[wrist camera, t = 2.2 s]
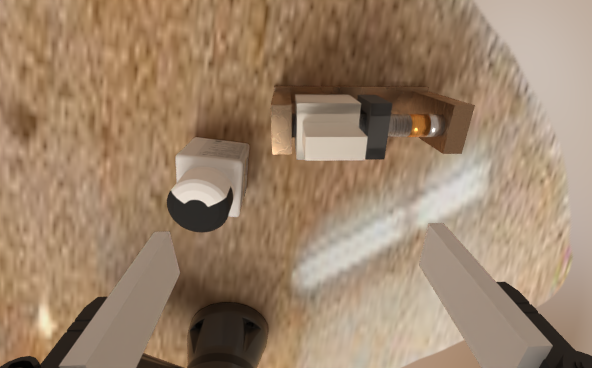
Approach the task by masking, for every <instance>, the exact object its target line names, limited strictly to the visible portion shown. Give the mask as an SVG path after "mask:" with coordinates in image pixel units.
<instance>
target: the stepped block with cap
mask: <svg viewBox="0 0 592 368" xmlns="http://www.w3.org/2000/svg"><path fill="white" fill-rule="evenodd" d="M360 109H361V103H360V102H359V101H357V100H356V99H354V98H353V97H352V96H350V95H301V94H295V114H297V135H296V137H295V149H296V158H297V160H305V161H327V160H365V155H366V146H367V138H368V137H367V136H366V135H365V134H364V133H363V132H362V130H361V129H360V128H359V119H360Z"/></svg>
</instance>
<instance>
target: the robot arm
mask: <svg viewBox="0 0 592 368" xmlns="http://www.w3.org/2000/svg"><path fill="white" fill-rule="evenodd" d="M419 266H420V268H421V269H422V271H423V272H424V274H425V276H426V277H427V279H428V281H429V282H430V284H431V286H432V287H433V289H434V290H435V292H436V294H437V295H438V297H439V299H440V300H441V302H442V304H443V305H444V307H445V309H446V310H447V312H448V313H449V315H450V317H451V318H452V320H453V322H454V323H455V325H456V327H457V328H458V330H459V331H460V333H461V335H462V336H463V338H464V340H465V341H466V343H467V344H468V346H469V348H470V349H471V351H472V353H473V354H474V356H475V358H476V359H477V361H478V363H479V364H480V366H481V368H592V356H590V355H588V354H585V353H582V352H579V351H576V350H575V349H573V348H572V347H571V345H570V344H569V343H568V342H567V341H566V340H565V339H564V338H563V337H562V336H561V335H560V334H559V333H558V332H557V331H556V330H555V329H554V328H553V327H552V326H551V325H550V323H549V322H548V321H547V320H546V319H545V318H544V317H543V316H542V315H541V314H539V313H538V311H537V310H536V309H535V308H534V307H533V306H532V305H530V304H529V301H528V300H527V299H526V298H525V297H524V296H523V295H522V294H521V293H520V292H519V291H518V290H516V289H515V288H513V287H512V286H510V285H509V284H507V283H506V282H496V281H495V280H494V279H493V278H492V277H491V276H490V275H489V274H488V273H487V271H486V270H485V269H484V268H483V267H482V266H481V265H480V264H479V262H478V261H477V260H476V259H475V258H474V257H473V256H472V255H471V253H470V252H469V251H468V250H467V249H466V248H465V247H464V246H463V245H462V243H461V242H460V241H459V240H458V239H457V238H456V237H455V236H454V234H453V233H452V232H451V231H450V230H449V229H448V228H447V227H446V226H445V224H444V223H428V228H427V232H426V236H425V241H424V245H423V250H422V254H421V259H420V263H419ZM179 275H180V270H179V266H178V262H177V258H176V254H175V251H174V247H173V243H172V239H171V235H170V231H165V232H154V233H153V234H152V236H151V237H150V238H149V240H148V241H147V243H146V244H145V245H144V247H143V248H142V250H141V251H140V253H139V254H138V255H137V257H136V258H135V260H134V261H133V262H132V264H131V265H130V267H129V268H128V269H127V271H126V272H125V274H124V275H123V276H122V278H121V279H120V281H119V282H118V283H117V285H116V286H115V288H114V289H113V290H112V292H111V293H110V295H109V296H108V297H97V298H96V299H95V300H93V301H92V302H91V303H90V304H88V305H87V306H86V307H85V308H84V309H83V310H82V312H81V313H80V314H79V315H78V317H77V318H76V319H75V322H73V323H72V324H71V326H70V327H69V328H68V330H67V333H65V334H64V335H63V336H62V337H61V339H60V340H59V341H58V343H57V344H56V345H55V347H54V348H53V349H52V350H51V352H50V353H49V354H48V356H47V357H46V358H45V359H44V361H43V362H42V363H41V365H40V364H39V362H38V360H37V359H36V358H34V357H31V356H26V357H20V358H17V359H14V360H12V361H9V362H7V363H6V364H4V365H3V366H1V367H0V368H183V367H181V366H178V365H175V364H172V363H169V362H167V361H164V360H161V359H158V358H155V357H152V356H150V355H147V354H145V353H143V352H144V350H145V348H146V346H147V343H148V341H149V339H150V337H151V335H152V333H153V331H154V328H155V326H156V324H157V322H158V320H159V318H160V316H161V313H162V311H163V309H164V307H165V305H166V303H167V301H168V298H169V296H170V294H171V292H172V290H173V288H174V286H175V283H176V281H177V279H178V277H179ZM267 335H268V327H267V323H266V321H265V319H264V318H263V317H262V316H261V315H260V314H259V313H258V312H257V311H255V310H254V309H252V308H250V307H248V306H245V305H242V304H237V303H217V304H213V305H210V306H207V307H205V308H203V309H201V310H200V311H199V312H198V313H197V314H196V315H195V316H194V317H193V319H192V321H191V324H190V327H189V330H188V335H187V349H188V366H187V368H257V367H258V364H259V362H260V359H261V357H262V354H263V352H264V349H265V347H266V344H267Z"/></svg>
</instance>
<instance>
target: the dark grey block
mask: <svg viewBox="0 0 592 368" xmlns="http://www.w3.org/2000/svg"><path fill="white" fill-rule="evenodd" d="M357 101H359V102H360V103H361V109H360V114H367V117H366V125H365V135H366V136H367V137H368V138H367V146H366V155H365V159H384V158H385V151H386V144H387V138H388V131H389V124H390V118H391V111H392V104H393V103H391V102H389V101H387V100H385V99H383V98H381V97H379V96H377V95H358V98H357Z"/></svg>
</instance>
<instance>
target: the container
mask: <svg viewBox="0 0 592 368" xmlns="http://www.w3.org/2000/svg"><path fill="white" fill-rule="evenodd" d="M248 157H249V144H247V143H240V142H232V141H224V140H216V139H207V138H199V137H194V138H193V139H192V140H191V141H190V142H189V143H188V144H187V145H186V146H185V147H184V148H183V149H182V150H181V151H180V152H179V153H178V154H177V155H176V180H177V183H176V184H175V186H174V187H173V188H172V189H171V191H170V192H169V195H168V198H167V207H168V211H169V213H170V215H171V217H172V218H173V219H174V220H175V222H177V223H178V224H179V225H180V226H182V227H183V228H185V229H188V230H190V231H194V232H210V231H213V230H215V229H217V228H219V227H221V226H222V225H223V224H224V223H225V221H226V220H227V218H228V216H230V217H238V216H239V214H240V211H241V207H242V204H243V200H244V196H245V193H246V185H247V171H248Z"/></svg>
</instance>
